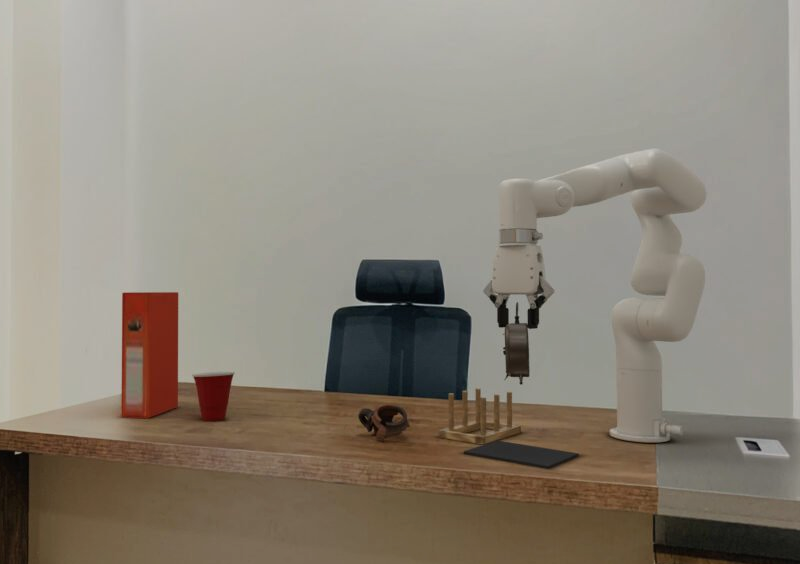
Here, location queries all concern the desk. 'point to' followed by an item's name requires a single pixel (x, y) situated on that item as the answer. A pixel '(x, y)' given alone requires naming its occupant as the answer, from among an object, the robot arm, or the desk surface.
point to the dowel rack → (480, 421)
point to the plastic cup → (213, 394)
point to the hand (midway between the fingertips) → (517, 327)
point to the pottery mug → (384, 420)
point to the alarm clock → (517, 349)
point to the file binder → (149, 353)
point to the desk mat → (522, 454)
